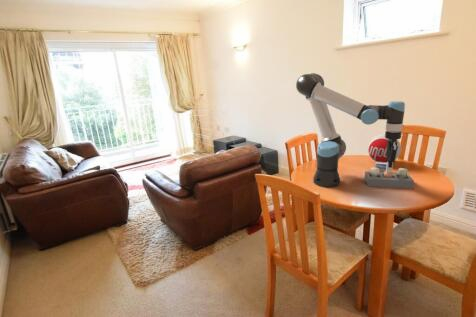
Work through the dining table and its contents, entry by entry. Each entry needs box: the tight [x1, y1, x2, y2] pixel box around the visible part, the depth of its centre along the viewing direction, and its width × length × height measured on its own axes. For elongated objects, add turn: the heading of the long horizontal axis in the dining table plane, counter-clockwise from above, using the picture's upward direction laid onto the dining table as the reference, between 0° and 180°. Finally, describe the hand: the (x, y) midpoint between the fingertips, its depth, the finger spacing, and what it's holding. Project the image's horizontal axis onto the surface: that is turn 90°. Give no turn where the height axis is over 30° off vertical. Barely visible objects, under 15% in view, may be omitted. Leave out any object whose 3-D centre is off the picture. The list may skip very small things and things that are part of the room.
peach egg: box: [384, 171, 394, 178], centre depth 149 cm, size 4×4×6 cm
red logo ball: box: [367, 133, 402, 163], centre depth 180 cm, size 20×20×20 cm
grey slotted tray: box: [364, 170, 415, 189], centre depth 150 cm, size 22×12×4 cm, turn 74°
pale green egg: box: [397, 167, 409, 178], centre depth 147 cm, size 4×4×6 cm
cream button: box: [370, 166, 380, 177], centre depth 151 cm, size 4×4×6 cm
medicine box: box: [374, 161, 387, 172], centre depth 159 cm, size 8×4×9 cm, turn 62°
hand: (388, 172), depth 148 cm, fingers closed
